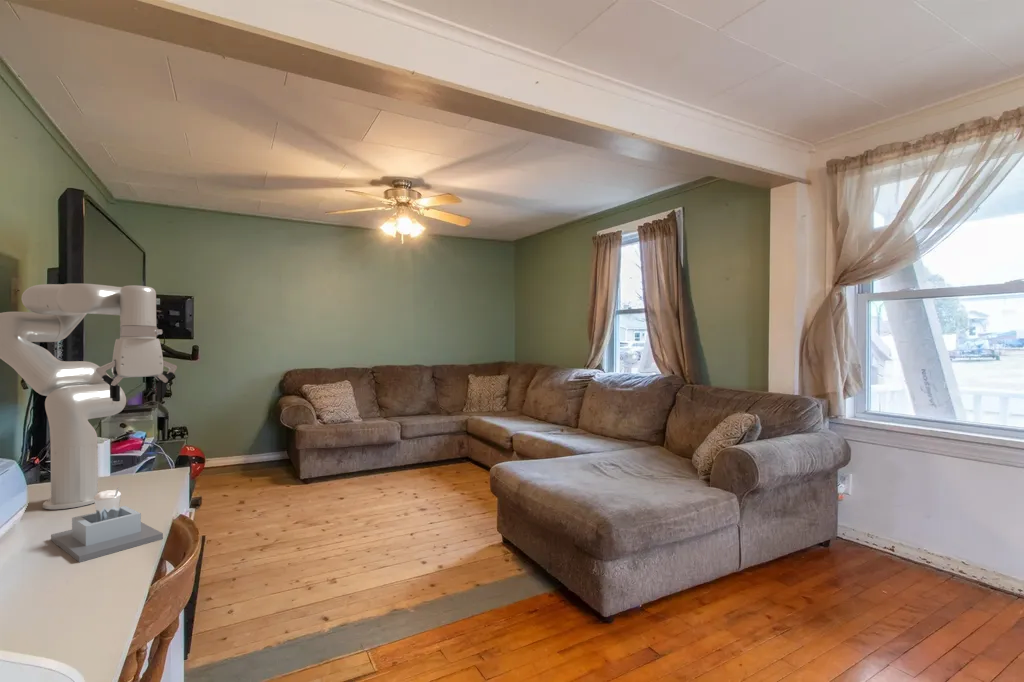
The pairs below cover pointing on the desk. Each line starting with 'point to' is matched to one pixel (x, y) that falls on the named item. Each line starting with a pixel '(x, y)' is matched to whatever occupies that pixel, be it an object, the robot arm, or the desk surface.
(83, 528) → the housing
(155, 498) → the desk surface
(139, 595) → the desk surface
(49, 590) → the desk surface
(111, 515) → the milkshake
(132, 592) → the desk surface
